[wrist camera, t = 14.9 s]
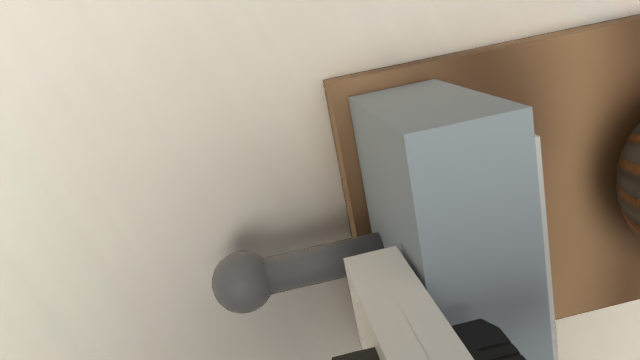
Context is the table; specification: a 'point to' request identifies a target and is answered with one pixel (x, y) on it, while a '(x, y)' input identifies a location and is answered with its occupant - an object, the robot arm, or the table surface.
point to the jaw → (437, 213)
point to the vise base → (542, 143)
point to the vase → (630, 181)
